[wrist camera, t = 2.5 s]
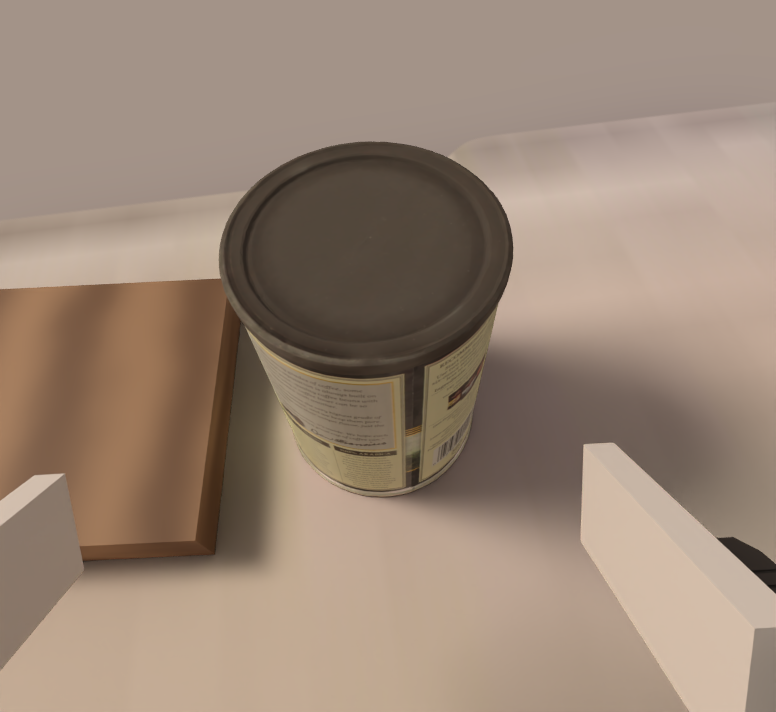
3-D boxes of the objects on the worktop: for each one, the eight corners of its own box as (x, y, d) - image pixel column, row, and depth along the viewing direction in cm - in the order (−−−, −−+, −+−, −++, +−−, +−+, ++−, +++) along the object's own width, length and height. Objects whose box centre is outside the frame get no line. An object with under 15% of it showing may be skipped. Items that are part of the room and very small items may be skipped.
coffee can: (317, 320, 35) (271, 124, 23) (483, 348, 34) (527, 156, 22) (264, 477, 30) (168, 333, 18) (456, 518, 29) (495, 391, 16)
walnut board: (241, 308, 36) (229, 278, 33) (214, 554, 28) (195, 540, 25) (5, 319, 36) (-26, 290, 33) (-87, 569, 28) (-138, 556, 25)
